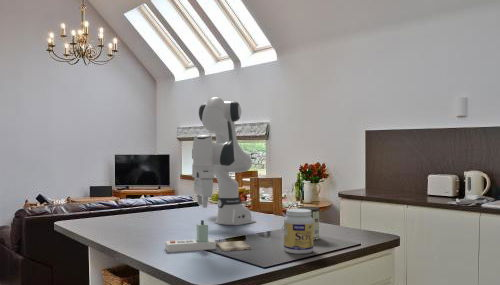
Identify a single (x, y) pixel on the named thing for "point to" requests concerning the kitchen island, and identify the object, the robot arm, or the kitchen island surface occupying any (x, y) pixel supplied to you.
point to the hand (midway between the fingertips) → (202, 206)
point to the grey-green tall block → (202, 232)
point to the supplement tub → (298, 231)
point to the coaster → (233, 245)
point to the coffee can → (316, 220)
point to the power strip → (189, 245)
